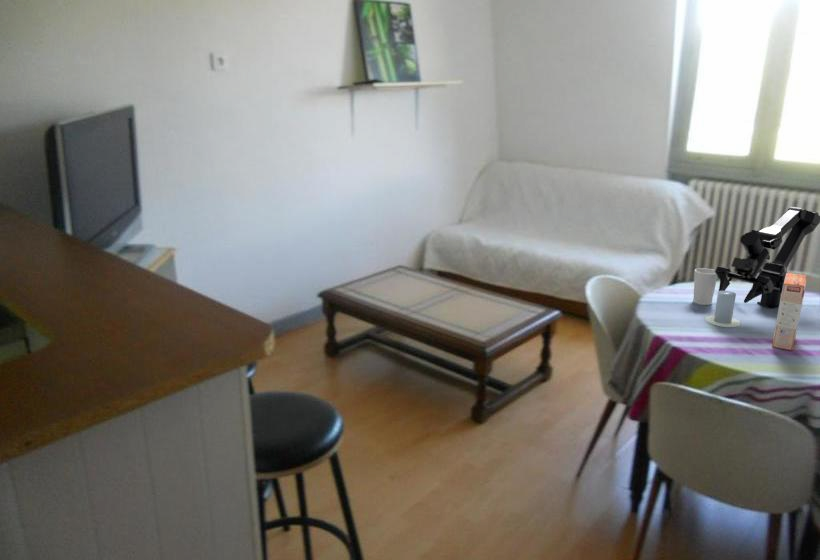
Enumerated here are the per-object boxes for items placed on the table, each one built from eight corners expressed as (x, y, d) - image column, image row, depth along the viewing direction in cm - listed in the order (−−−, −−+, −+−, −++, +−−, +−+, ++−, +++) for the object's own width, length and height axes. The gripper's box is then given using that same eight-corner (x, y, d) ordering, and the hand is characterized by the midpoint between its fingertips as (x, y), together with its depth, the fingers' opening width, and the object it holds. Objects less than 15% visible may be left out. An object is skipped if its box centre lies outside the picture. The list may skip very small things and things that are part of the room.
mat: (723, 314, 230) (723, 314, 230) (747, 325, 220) (748, 324, 220) (697, 318, 227) (697, 317, 227) (721, 328, 217) (721, 328, 217)
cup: (709, 299, 247) (714, 268, 243) (717, 306, 239) (721, 274, 236) (687, 298, 247) (691, 267, 244) (694, 305, 240) (698, 273, 236)
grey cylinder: (723, 317, 227) (727, 289, 224) (735, 322, 222) (739, 294, 219) (710, 319, 225) (714, 291, 222) (722, 324, 220) (726, 296, 217)
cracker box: (793, 351, 198) (805, 285, 192) (771, 347, 201) (782, 282, 195) (796, 337, 210) (807, 274, 204) (774, 333, 213) (785, 271, 207)
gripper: (721, 243, 228) (698, 279, 226) (774, 254, 214) (751, 293, 211) (731, 261, 235) (709, 296, 232) (783, 273, 220) (761, 311, 218)
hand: (731, 298), depth 223 cm, fingers open, 9 cm apart
